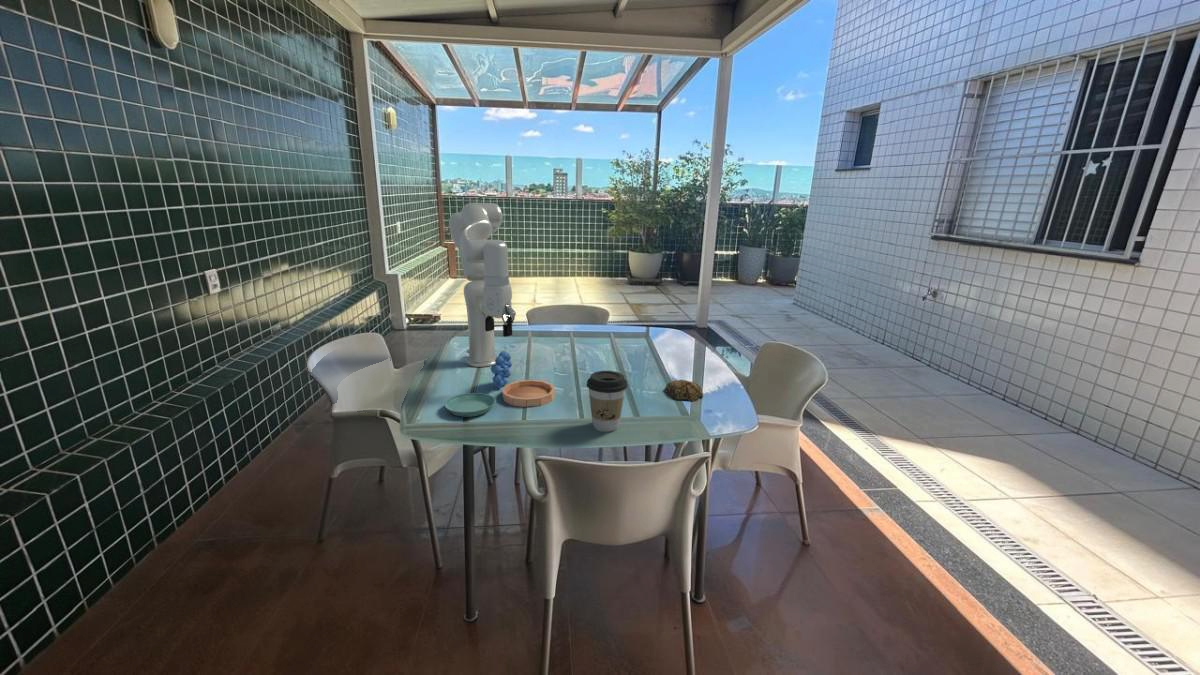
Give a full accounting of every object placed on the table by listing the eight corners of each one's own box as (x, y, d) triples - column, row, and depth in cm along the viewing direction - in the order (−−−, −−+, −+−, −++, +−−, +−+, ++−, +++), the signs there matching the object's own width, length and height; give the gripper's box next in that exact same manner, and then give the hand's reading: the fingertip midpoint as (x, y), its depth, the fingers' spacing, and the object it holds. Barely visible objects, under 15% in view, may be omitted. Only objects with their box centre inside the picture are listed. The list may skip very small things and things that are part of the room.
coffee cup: (586, 435, 131) (587, 383, 127) (585, 417, 142) (586, 369, 138) (628, 435, 131) (630, 383, 127) (624, 417, 142) (625, 369, 138)
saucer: (505, 405, 149) (505, 397, 148) (475, 424, 136) (474, 415, 135) (466, 397, 155) (466, 389, 154) (434, 414, 142) (433, 406, 141)
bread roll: (663, 387, 167) (664, 373, 166) (699, 387, 167) (700, 374, 166) (669, 402, 155) (670, 387, 153) (707, 402, 155) (708, 388, 154)
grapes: (498, 378, 170) (497, 346, 167) (516, 380, 169) (515, 347, 166) (483, 390, 159) (481, 356, 156) (502, 393, 158) (501, 358, 155)
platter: (492, 396, 155) (492, 388, 155) (532, 383, 167) (532, 376, 166) (525, 411, 145) (525, 403, 144) (565, 396, 156) (565, 389, 156)
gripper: (471, 279, 157) (473, 330, 162) (503, 285, 146) (505, 340, 151) (490, 277, 163) (492, 326, 167) (523, 283, 152) (524, 336, 156)
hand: (498, 333), depth 159 cm, fingers open, 9 cm apart
